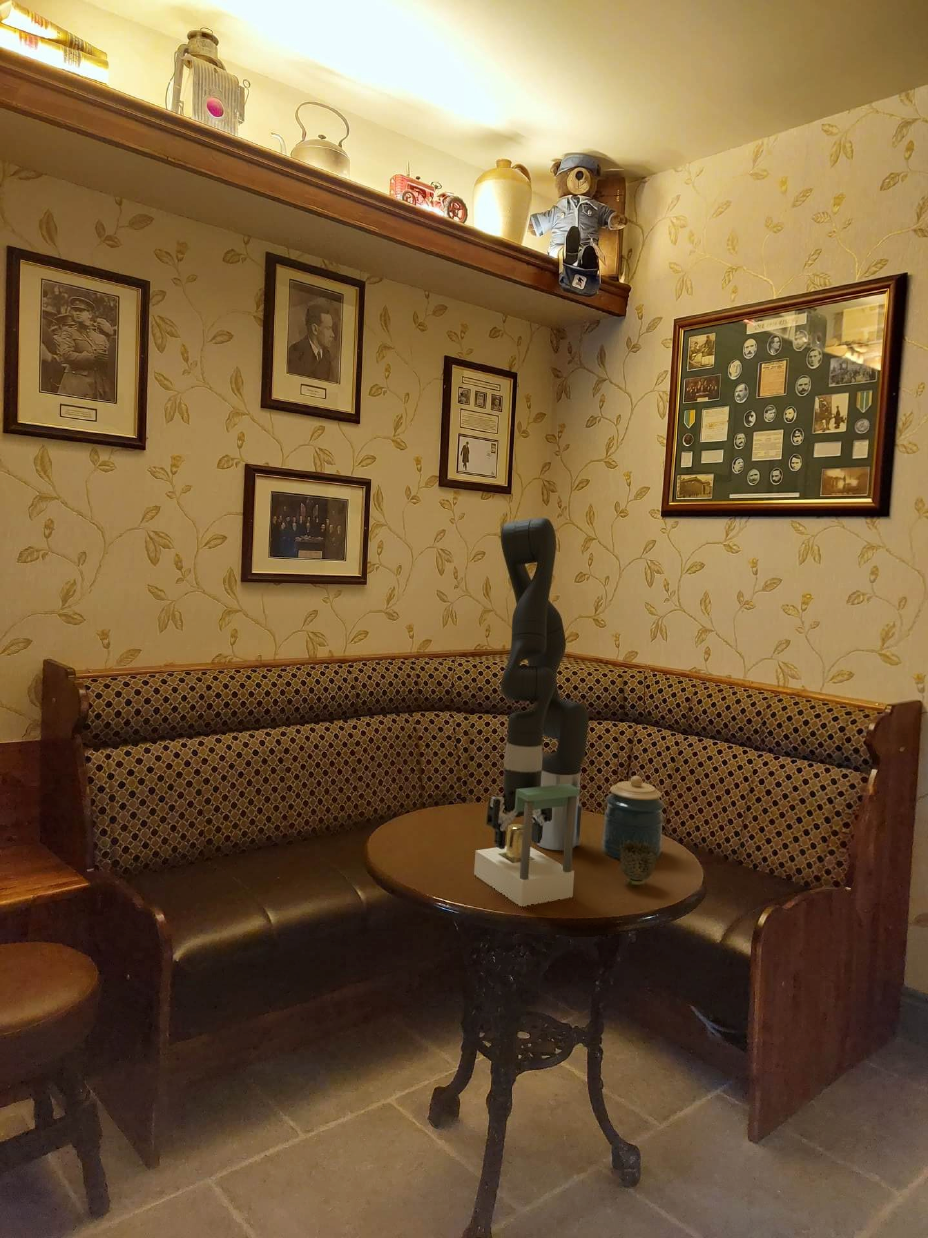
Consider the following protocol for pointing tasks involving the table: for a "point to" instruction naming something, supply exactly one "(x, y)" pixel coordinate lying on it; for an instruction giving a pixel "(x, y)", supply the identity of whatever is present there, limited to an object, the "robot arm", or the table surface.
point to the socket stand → (533, 853)
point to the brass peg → (514, 843)
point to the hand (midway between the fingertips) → (518, 845)
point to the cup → (637, 862)
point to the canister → (632, 816)
